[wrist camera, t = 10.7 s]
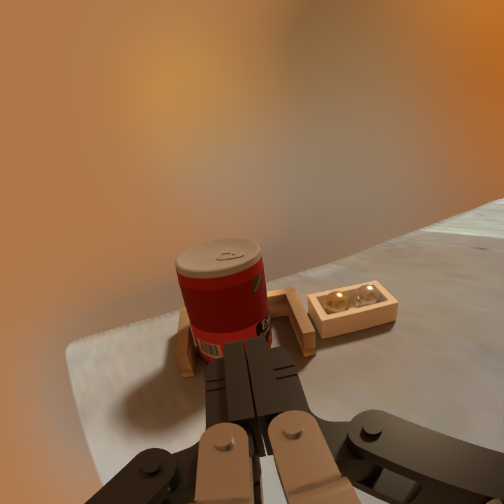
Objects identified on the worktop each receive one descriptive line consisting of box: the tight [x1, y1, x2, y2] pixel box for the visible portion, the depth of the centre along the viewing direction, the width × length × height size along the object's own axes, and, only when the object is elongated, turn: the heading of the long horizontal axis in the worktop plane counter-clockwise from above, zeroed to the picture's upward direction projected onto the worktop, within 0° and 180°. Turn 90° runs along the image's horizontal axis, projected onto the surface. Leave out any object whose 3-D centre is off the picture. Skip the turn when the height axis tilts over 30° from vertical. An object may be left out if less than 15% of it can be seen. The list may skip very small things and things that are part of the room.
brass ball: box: [323, 291, 350, 315], centre depth 34 cm, size 3×3×3 cm
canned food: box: [175, 239, 272, 364], centre depth 31 cm, size 8×8×11 cm
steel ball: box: [354, 284, 380, 308], centre depth 34 cm, size 3×3×3 cm
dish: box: [307, 280, 398, 339], centre depth 34 cm, size 9×6×2 cm, turn 97°
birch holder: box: [174, 287, 316, 377], centre depth 33 cm, size 13×9×3 cm
